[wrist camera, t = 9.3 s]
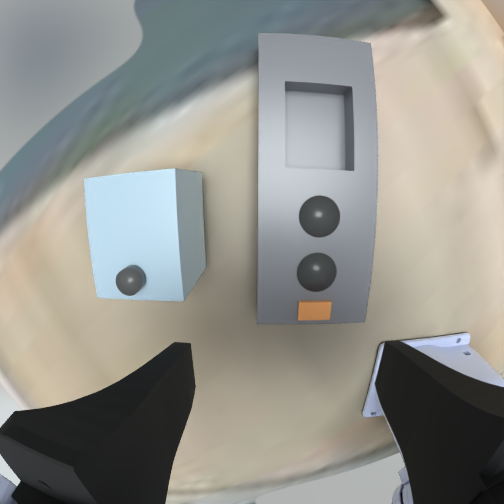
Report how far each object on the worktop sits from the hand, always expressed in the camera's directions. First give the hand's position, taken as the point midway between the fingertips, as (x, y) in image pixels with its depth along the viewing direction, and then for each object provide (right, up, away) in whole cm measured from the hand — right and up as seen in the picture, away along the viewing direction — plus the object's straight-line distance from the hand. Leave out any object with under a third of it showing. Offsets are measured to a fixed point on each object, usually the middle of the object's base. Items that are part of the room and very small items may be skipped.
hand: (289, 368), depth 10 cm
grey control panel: (+3, +9, +8) cm, 13 cm away
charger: (-6, +6, +9) cm, 13 cm away
